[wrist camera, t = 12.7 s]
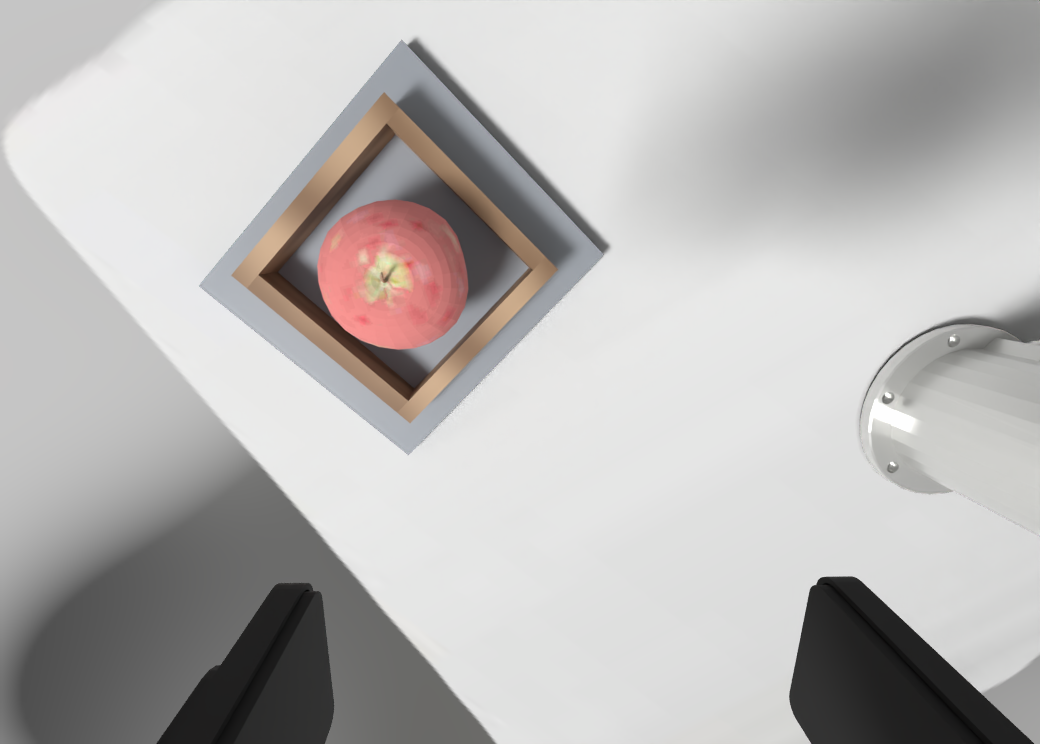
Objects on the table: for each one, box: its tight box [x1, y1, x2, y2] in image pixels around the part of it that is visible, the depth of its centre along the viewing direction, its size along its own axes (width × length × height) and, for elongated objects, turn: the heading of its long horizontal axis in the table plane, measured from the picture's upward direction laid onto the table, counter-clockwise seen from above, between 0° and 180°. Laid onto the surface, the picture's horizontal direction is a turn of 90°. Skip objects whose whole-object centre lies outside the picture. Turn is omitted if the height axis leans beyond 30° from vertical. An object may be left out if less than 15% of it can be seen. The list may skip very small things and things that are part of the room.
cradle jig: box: [199, 40, 604, 455], centre depth 28 cm, size 18×16×4 cm
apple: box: [317, 200, 468, 350], centre depth 25 cm, size 7×7×8 cm
